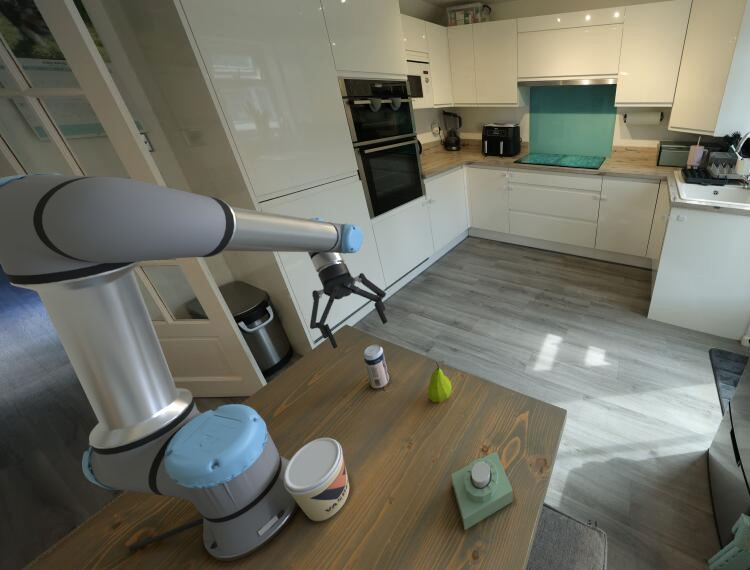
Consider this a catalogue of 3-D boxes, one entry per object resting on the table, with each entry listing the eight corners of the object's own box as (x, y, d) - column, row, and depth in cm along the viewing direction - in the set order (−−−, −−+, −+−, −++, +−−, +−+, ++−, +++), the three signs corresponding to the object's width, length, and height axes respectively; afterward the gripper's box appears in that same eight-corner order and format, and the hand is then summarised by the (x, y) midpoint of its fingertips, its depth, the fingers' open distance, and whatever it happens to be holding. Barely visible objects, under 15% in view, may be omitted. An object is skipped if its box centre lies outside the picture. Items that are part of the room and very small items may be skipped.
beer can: (393, 379, 87) (386, 347, 82) (378, 392, 84) (370, 360, 79) (382, 372, 90) (374, 340, 85) (367, 384, 86) (358, 352, 81)
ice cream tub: (332, 533, 57) (315, 497, 52) (289, 520, 59) (268, 484, 54) (363, 476, 66) (351, 441, 61) (325, 466, 67) (310, 431, 62)
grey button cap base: (464, 530, 58) (462, 513, 55) (452, 485, 64) (450, 468, 62) (512, 501, 62) (512, 484, 59) (496, 462, 68) (496, 445, 66)
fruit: (438, 412, 79) (433, 379, 74) (423, 398, 82) (418, 365, 77) (457, 395, 83) (454, 363, 78) (443, 382, 87) (439, 350, 82)
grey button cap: (475, 492, 59) (475, 486, 58) (469, 472, 61) (468, 466, 61) (493, 482, 60) (492, 476, 59) (486, 464, 63) (485, 458, 62)
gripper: (372, 257, 101) (400, 316, 97) (281, 289, 85) (311, 361, 81) (376, 249, 95) (406, 311, 92) (279, 281, 79) (311, 357, 76)
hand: (361, 334), depth 87 cm, fingers open, 13 cm apart
